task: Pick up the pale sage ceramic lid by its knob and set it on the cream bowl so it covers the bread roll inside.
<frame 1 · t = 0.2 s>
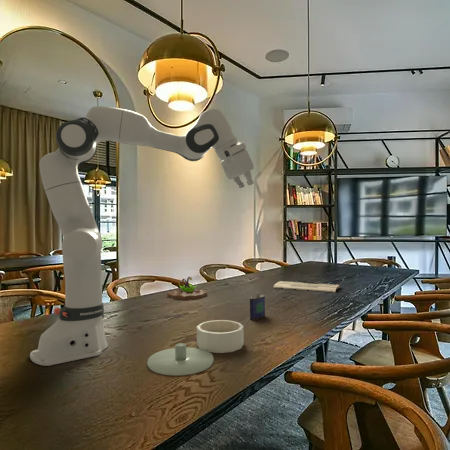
hand: (246, 186, 129), 54 cm above the table, tool tilted 30°, fingers open, 8 cm apart
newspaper: (306, 289, 217), on the table
plant: (187, 297, 196), on the table
bowl: (220, 344, 117), on the table
flask: (257, 318, 150), on the table
bread roll: (220, 345, 117), resting in bowl
lid: (180, 362, 103), on the table
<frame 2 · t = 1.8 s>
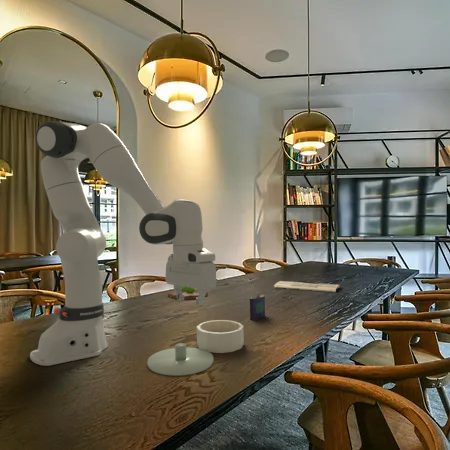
hand: (190, 302, 103), 17 cm above the table, tool pointing down, fingers open, 8 cm apart
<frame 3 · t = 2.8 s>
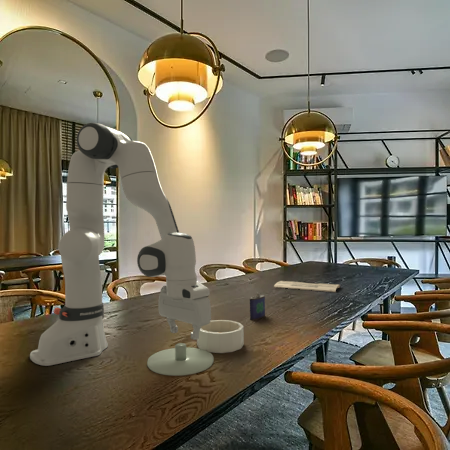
hand: (184, 335, 103), 8 cm above the table, tool pointing down, fingers open, 8 cm apart
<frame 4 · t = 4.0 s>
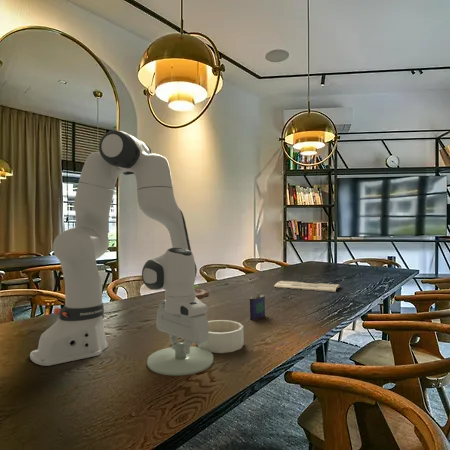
hand: (180, 351, 103), 3 cm above the table, tool pointing down, fingers closed on lid, 3 cm apart
lid: (180, 361, 103), on the table, touching gripper
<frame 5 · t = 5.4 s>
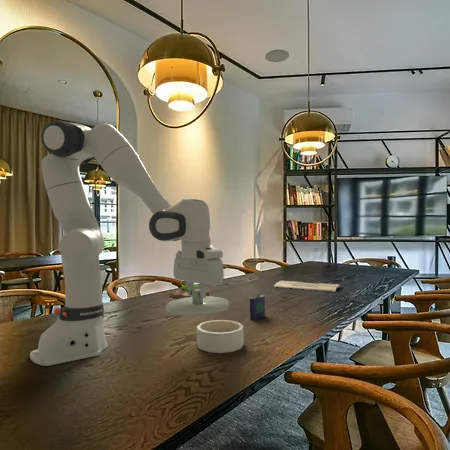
hand: (197, 296, 107), 18 cm above the table, tool pointing down, fingers closed on lid, 3 cm apart
lid: (197, 307, 108), point 15 cm above the table, touching gripper
when the fingers open (10 cm above the table, at t = 7.1 s): lid drops 1 cm, resting on bowl.
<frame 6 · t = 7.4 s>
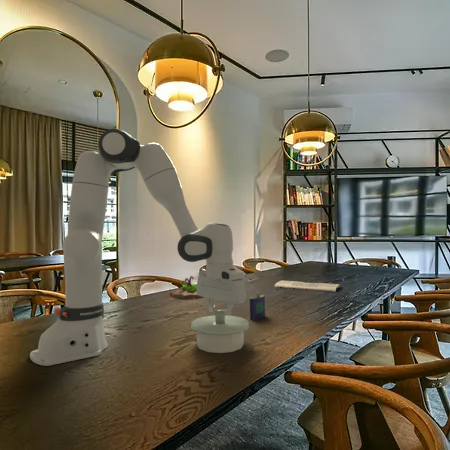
hand: (219, 313, 117), 10 cm above the table, tool pointing down, fingers open, 6 cm apart
lid: (220, 326, 117), point 6 cm above the table, touching bowl
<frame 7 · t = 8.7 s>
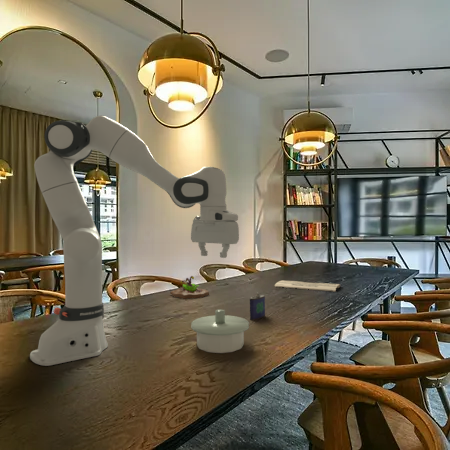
hand: (213, 256, 119), 29 cm above the table, tool pointing down, fingers open, 8 cm apart
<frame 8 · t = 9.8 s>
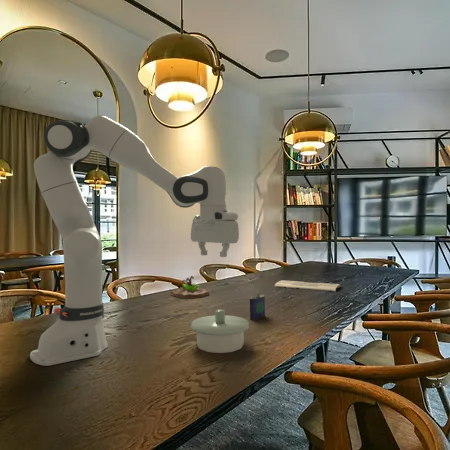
hand: (213, 256, 119), 29 cm above the table, tool pointing down, fingers open, 8 cm apart
at the end: lid 0.1 cm off-centre on the bowl, point 6.0 cm above the bowl's base; lid tilted 0°; the gripper is holding nothing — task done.
